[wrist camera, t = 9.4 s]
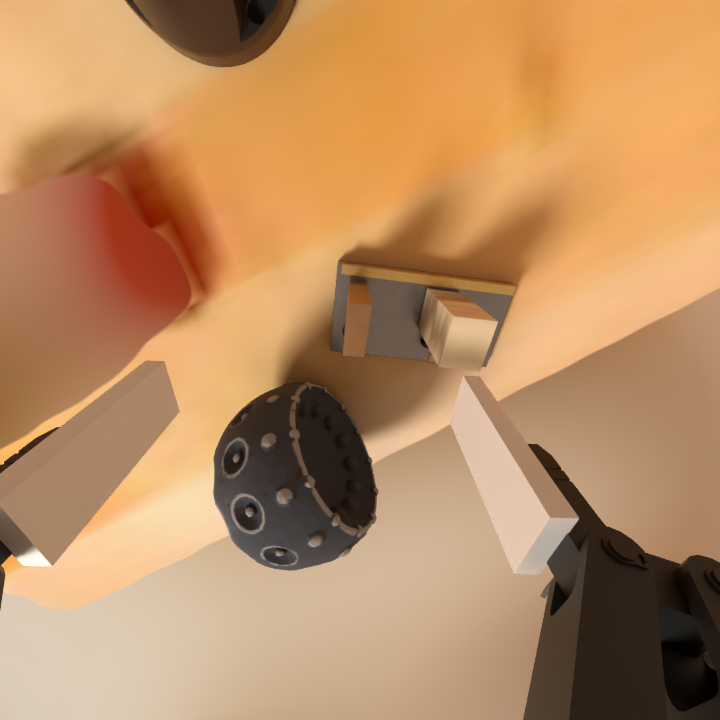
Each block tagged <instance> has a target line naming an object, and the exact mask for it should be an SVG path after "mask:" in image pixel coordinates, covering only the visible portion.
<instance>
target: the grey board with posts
mask: <svg viewBox="0 0 720 720" xmlns="http://www.w3.org/2000/svg"><path fill="white" fill-rule="evenodd" d="M516 286H517V285H514V284H512V283H506V282H499V281H491V280H483V279H476V278H468V277H460V276H452V275H445V274H437V273H429V272H422V271H414V270H406V269H399V268H391V267H383V266H376V265H368V264H360V263H353V262H345V261H338V268H337V279H336V290H335V302H334V313H333V324H332V335H331V347H330V350H331V351H340V352H343V356H352V357H361V358H364V355H365V354H368V355H378V356H387V357H397V358H406V359H415V360H425V361H428V360H427V355H428V351H429V348H428V346H427V344H426V342H425V341H424V339H423V337H422V335H421V333H420V331H419V329H418V325H419V320H420V316H421V312H422V308H423V303H424V299H425V295H426V291H427V288H432V289H440V290H448V291H456V292H461V293H462V294H464V295H465V296H466V297H467V298H469V299H470V300H471V301H473V302H474V303H475V304H476V305H478V306H479V307H480V308H482V309H483V310H484V311H485V312H487V313H488V314H489V315H491V316H492V317H493V318H494V319H496V320H497V321H498V324H497V327H496V329H495V332H494V335H493V337H492V340H491V343H490V346H489V348H488V351H487V354H486V356H485V359H484V362H483V365H482V367H486V365H487V363H488V360H489V357H490V355H491V352H492V349H493V347H494V344H495V341H496V339H497V336H498V333H499V331H500V328H501V325H502V323H503V320H504V317H505V315H506V312H507V310H508V307H509V304H510V302H511V299H512V296H514V293H515V290H516V288H517V287H516Z"/></svg>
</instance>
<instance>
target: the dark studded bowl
mask: <svg viewBox="0 0 720 720" xmlns="http://www.w3.org/2000/svg"><path fill="white" fill-rule="evenodd" d="M371 464H372V459H371V458H370V457H369V455H368V452H367V450H366V447H365V445H364V442H363V440H362V437H361V435H360V429H359V428H357V427H356V425H355V423H354V422H353V420H352V419H351V417H350V415H349V414H348V412H347V411H346V409H345V405H344V404H342V403H340V402H339V401H338V400H337V399H336V398H335V396H333V395H332V394H331V393H330V392H329V391H328V389H327V387H324V386H323V387H321V386H319V385H316V384H311V383H309V382H305V383H295V382H293V381H289V382H287V383H285V384H284V385H283V386H281V387H278V388H275V389H273V390H270V391H268V392H266V393H264V394H262V395H260V396H259V397H257V398H256V399H254V400H253V401H251V402H250V403H249V404H247V405H246V406H245V407H244V408H243V409H242V410H241V411H240V412H239V413H238V414H237V415H236V416H235V417H234V418H233V419H232V421H231V422H230V423H229V425H228V426H227V428H226V429H225V431H224V433H223V435H222V436H221V438H220V441H219V443H218V446H217V448H216V450H215V455H214V489H213V494H214V500H215V505H216V507H217V508H218V510H219V511H220V513H221V515H222V517H223V519H224V521H225V524H226V526H227V529H228V531H229V535H230V538H231V540H232V541H233V542H234V543H235V545H236V546H237V547H238V548H239V549H240V550H242V551H243V552H244V553H246V554H247V555H248V556H250V557H251V558H252V559H254V560H255V561H256V562H258V563H260V564H262V565H264V566H267V567H270V568H274V569H282V570H298V569H303V568H307V567H311V566H316V565H320V564H323V563H327V562H331V561H333V560H335V559H337V558H338V557H344V556H345V555H347V554H348V553H349V552H350V551H351V549H352V547H353V546H354V545H355V544H357V543H358V541H360V540H361V539H362V538H363V537H364V536H365V535H366V533H367V531H368V529H369V528H370V527H371V525H372V524H373V523H374V522H375V521H376V515H375V512H376V501H377V498H376V497H377V494H378V489H377V488H376V485H375V479H374V474H373V469H372V465H371Z"/></svg>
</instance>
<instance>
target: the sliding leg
mask: <svg viewBox="0 0 720 720" xmlns="http://www.w3.org/2000/svg"><path fill="white" fill-rule="evenodd" d="M497 324H498V321H497V320H496V319H494V318H493V317H492V316H491V315H489V314H488V313H487V312H485V311H484V310H483V309H482V308H480V307H479V306H478V305H476V304H475V303H474V302H473V301H471V300H470V299H469V298H467V297H466V296H465V295H464V294H462V293H461V292H456V291H448V290H440V289H432V288H427V291H426V295H425V299H424V303H423V308H422V312H421V316H420V320H419V325H418V329H419V331H420V333H421V335H422V337H423V339H424V341H425V342H426V344H427V346H428V348H429V351H428V355H427V360H428V362H436V363H437V365H438V367H442V368H452V369H461V370H471V371H480V370H481V367H482V365H483V362H484V359H485V356H486V354H487V351H488V348H489V346H490V343H491V340H492V337H493V335H494V332H495V329H496V327H497Z"/></svg>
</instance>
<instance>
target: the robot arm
mask: <svg viewBox="0 0 720 720" xmlns="http://www.w3.org/2000/svg"><path fill="white" fill-rule="evenodd" d="M125 1H126V3H127V4H128V5H129V6H130V8H131V9H132V10H133V11H134V12H135V14H136V15H137V16H138V17H139V18H140V19H141V20H142V21H143V22H144V23H145V24H146V25H147V26H148V27H149V28H150V29H151V30H152V31H154V32H155V33H156V34H157V35H158V36H159V37H160V38H161V39H163V40H164V41H165V42H166V43H167V44H168V45H170V46H171V47H172V48H174V49H175V50H176V51H178V52H179V53H181V54H183V55H184V56H186V57H188V58H190V59H192V60H194V61H197V62H199V63H202V64H205V65H210V66H216V67H232V66H238V65H241V64H245V63H247V62H250V61H252V60H253V59H255V58H257V57H258V56H260V55H261V54H262V53H264V52H265V51H266V50H267V49H268V48H269V47H270V46H271V45H272V44H273V43H274V42H275V40H276V39H277V38H278V36H279V35H280V33H281V32H282V30H283V28H284V27H285V25H286V23H287V21H288V18H289V16H290V14H291V11H292V8H293V5H294V2H295V0H125ZM179 412H180V411H179V408H178V405H177V401H176V398H175V395H174V391H173V388H172V385H171V382H170V378H169V375H168V372H167V368H166V365H165V362H164V361H145V362H144V363H142V364H141V365H140V366H138V367H137V368H136V369H135V370H133V371H132V372H131V373H129V374H128V375H127V376H125V377H124V378H123V379H122V380H120V381H119V382H118V383H116V384H115V385H114V386H113V387H111V388H110V389H109V390H107V391H106V392H105V393H104V394H102V395H101V396H100V397H98V398H97V399H96V400H94V401H93V402H92V403H91V404H89V405H88V406H87V407H85V408H84V409H83V410H82V411H80V412H79V413H78V414H76V415H75V416H74V417H73V418H71V419H70V420H69V421H67V422H66V423H65V424H64V425H62V426H61V427H56V428H55V429H53V430H51V431H49V432H47V433H45V434H43V435H41V436H39V437H37V438H35V439H34V440H33V441H31V442H30V443H29V444H27V445H26V446H25V447H23V448H22V449H21V450H19V453H18V454H14V455H13V456H11V457H10V458H9V459H7V460H6V461H5V462H4V464H3V465H0V608H1V600H2V594H3V587H4V580H5V572H4V568H3V567H2V566H1V565H2V564H3V563H4V562H5V561H6V559H7V558H8V557H9V556H10V555H11V554H12V555H13V556H14V557H15V558H16V559H17V560H18V561H19V562H20V563H21V564H22V565H23V566H53V565H54V564H55V562H56V561H57V560H58V559H59V557H60V556H61V555H62V554H63V553H64V551H65V550H66V549H67V548H68V547H69V545H70V544H71V543H72V542H73V540H74V539H75V538H76V537H77V536H78V534H79V533H80V532H81V531H82V530H83V528H84V527H85V526H86V525H87V523H88V522H89V521H90V520H91V519H92V517H93V516H94V515H95V514H96V513H97V511H98V510H99V509H100V508H101V506H102V505H103V504H104V503H105V502H106V500H107V499H108V498H109V497H110V496H111V494H112V493H113V492H114V491H115V489H116V488H117V487H118V486H119V485H120V483H121V482H122V481H123V480H124V479H125V477H126V476H127V475H128V474H129V472H130V471H131V470H132V469H133V468H134V466H135V465H136V464H137V463H138V462H139V460H140V459H141V458H142V457H143V456H144V454H145V453H146V452H147V451H148V449H149V448H150V447H151V446H152V445H153V443H154V442H155V441H156V440H157V439H158V437H159V436H160V435H161V434H162V432H163V431H164V430H165V429H166V428H167V426H168V425H169V424H170V423H171V422H172V420H173V419H174V418H175V417H176V415H177V414H178V413H179ZM450 424H451V426H452V428H453V431H454V433H455V435H456V438H457V440H458V443H459V445H460V447H461V450H462V452H463V454H464V457H465V459H466V461H467V463H468V466H469V469H470V471H471V473H472V476H473V478H474V480H475V483H476V485H477V487H478V490H479V492H480V494H481V497H482V499H483V501H484V504H485V506H486V509H487V511H488V513H489V516H490V518H491V520H492V523H493V525H494V527H495V530H496V532H497V534H498V537H499V539H500V542H501V544H502V546H503V549H504V551H505V553H506V556H507V558H508V560H509V563H510V565H511V567H512V570H513V572H514V574H540V572H541V571H542V570H543V568H544V567H545V566H546V564H548V566H549V568H550V570H551V572H552V573H553V575H554V577H553V579H552V580H551V581H550V583H549V584H548V585H547V586H546V588H545V589H544V591H543V592H542V594H541V596H542V597H543V598H546V596H547V595H548V598H547V603H546V608H545V613H544V618H543V623H542V628H541V633H540V638H539V643H538V648H537V653H536V658H535V663H534V668H533V673H532V678H531V683H530V688H529V693H528V698H527V703H526V708H525V714H524V719H523V720H720V563H719V562H717V561H715V560H713V559H711V558H708V557H704V556H700V555H695V556H690V557H689V558H687V559H686V560H685V561H684V562H683V563H682V564H678V563H675V562H672V561H669V560H666V559H663V558H660V557H657V556H654V555H650V554H648V553H645V552H644V550H643V549H642V548H641V547H640V546H639V545H638V544H636V543H635V542H634V541H633V540H632V539H631V538H629V537H628V536H626V535H624V534H623V533H622V532H620V531H617V530H615V529H613V528H610V527H606V525H605V524H604V523H603V522H602V521H601V519H600V518H599V517H598V516H597V514H596V513H595V512H594V510H593V509H592V508H591V506H590V505H589V504H588V503H587V501H586V500H585V499H584V497H583V496H582V495H581V493H580V492H579V491H578V489H577V488H576V487H575V485H574V484H573V483H572V482H570V480H569V478H568V476H567V475H566V474H565V473H564V471H562V470H561V467H560V466H559V465H558V463H557V462H556V461H555V459H554V458H553V457H552V456H551V455H550V454H549V453H548V452H546V451H545V450H544V449H543V448H542V447H540V446H539V445H538V444H527V443H526V442H525V441H524V439H523V437H522V436H521V434H520V433H519V432H518V430H517V429H516V427H515V426H514V425H513V423H512V422H511V420H510V419H509V418H508V416H507V415H506V413H505V412H504V410H503V409H502V407H501V406H500V405H499V403H498V402H497V400H496V399H495V397H494V396H493V395H492V393H491V392H490V390H489V389H488V388H487V386H486V385H485V383H484V382H483V380H482V379H481V378H480V377H477V376H463V379H462V382H461V386H460V389H459V393H458V396H457V400H456V403H455V407H454V410H453V414H452V417H451V421H450Z"/></svg>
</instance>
